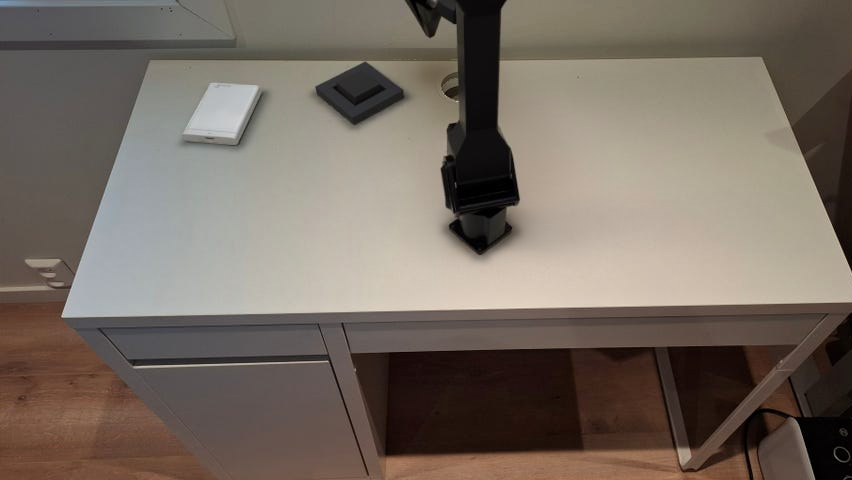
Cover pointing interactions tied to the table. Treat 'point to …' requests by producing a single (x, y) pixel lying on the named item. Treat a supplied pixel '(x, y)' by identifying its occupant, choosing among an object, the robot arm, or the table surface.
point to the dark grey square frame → (368, 107)
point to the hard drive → (222, 114)
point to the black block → (358, 87)
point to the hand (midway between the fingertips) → (430, 36)
